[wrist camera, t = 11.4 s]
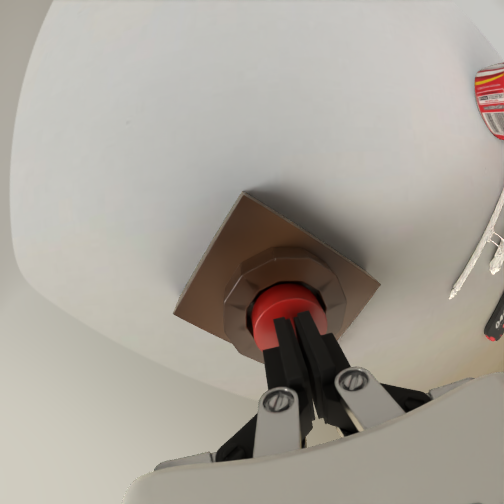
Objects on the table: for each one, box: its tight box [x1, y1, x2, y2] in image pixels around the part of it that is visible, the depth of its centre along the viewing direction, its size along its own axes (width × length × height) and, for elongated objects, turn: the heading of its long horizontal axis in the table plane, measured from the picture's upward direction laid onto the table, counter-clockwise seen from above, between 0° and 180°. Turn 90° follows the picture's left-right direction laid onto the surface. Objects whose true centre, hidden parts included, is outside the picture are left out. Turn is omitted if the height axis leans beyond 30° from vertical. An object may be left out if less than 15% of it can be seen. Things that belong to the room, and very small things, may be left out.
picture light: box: [449, 188, 504, 299], centre depth 17 cm, size 14×4×2 cm, turn 147°
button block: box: [173, 191, 380, 364], centre depth 16 cm, size 10×8×4 cm
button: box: [252, 283, 327, 352], centre depth 13 cm, size 4×4×2 cm
